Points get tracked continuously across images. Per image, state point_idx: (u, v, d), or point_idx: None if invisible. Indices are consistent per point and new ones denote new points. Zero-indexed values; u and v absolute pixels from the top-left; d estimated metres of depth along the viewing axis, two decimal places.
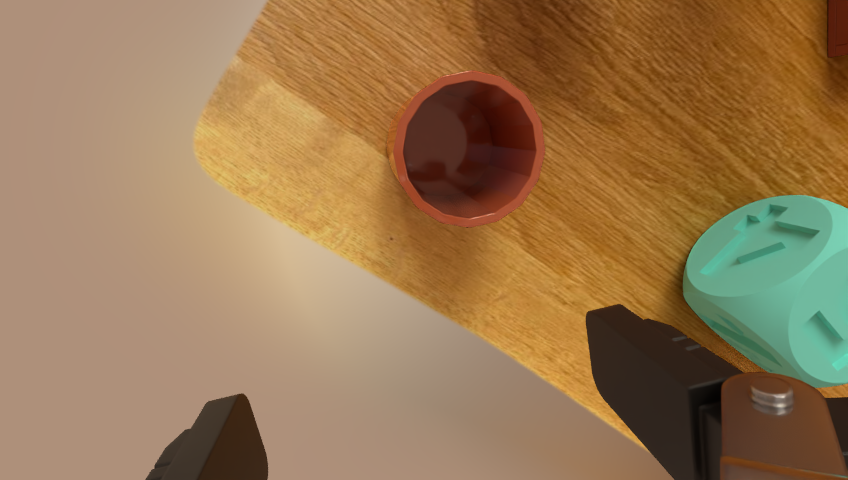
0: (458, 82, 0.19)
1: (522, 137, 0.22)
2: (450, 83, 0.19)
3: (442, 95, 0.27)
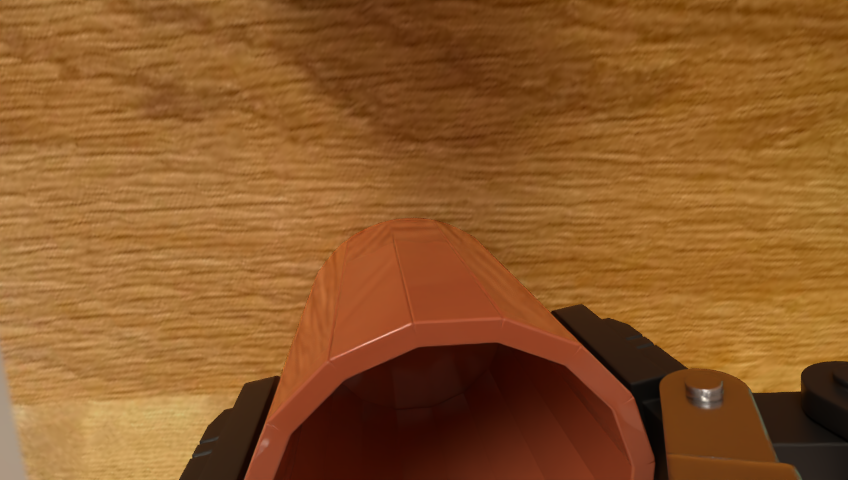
0: (317, 403, 0.07)
1: None
2: (299, 421, 0.07)
3: None
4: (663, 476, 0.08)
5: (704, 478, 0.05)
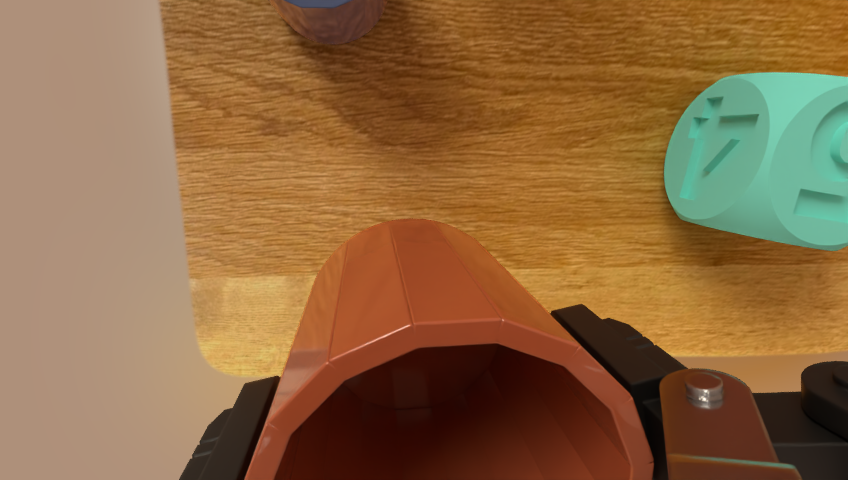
0: (317, 403, 0.07)
1: None
2: (299, 422, 0.07)
3: None
4: (663, 476, 0.08)
5: (704, 478, 0.05)
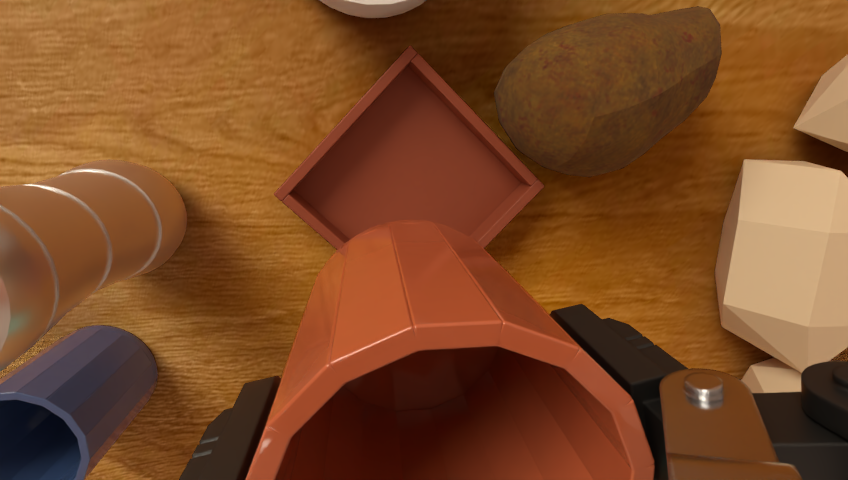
0: (318, 406, 0.07)
1: None
2: (299, 425, 0.07)
3: None
4: (663, 476, 0.08)
5: (704, 478, 0.05)
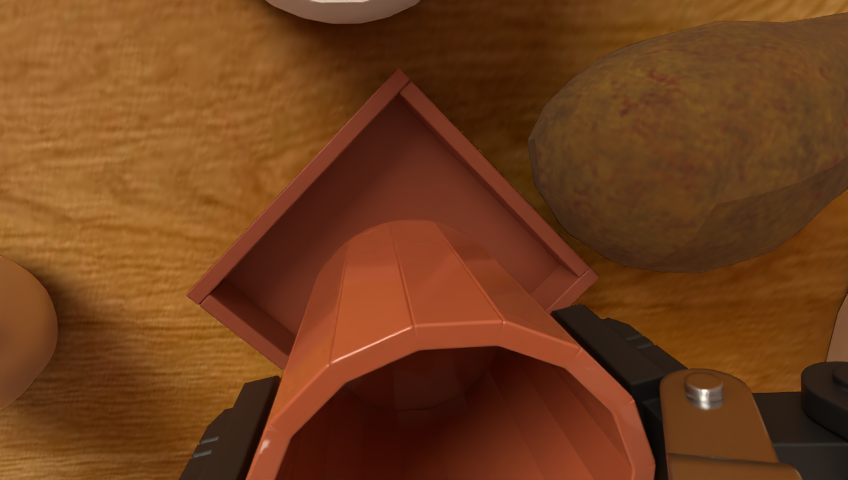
0: (318, 406, 0.07)
1: None
2: (300, 424, 0.07)
3: None
4: (663, 476, 0.08)
5: (704, 478, 0.05)
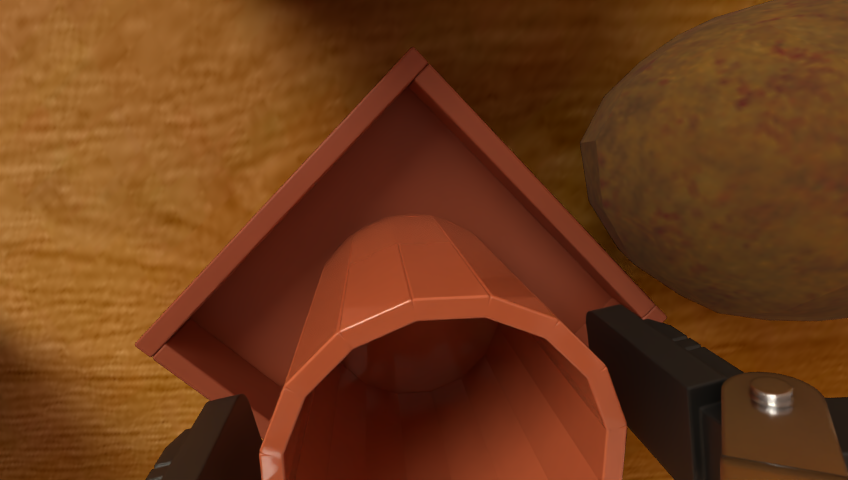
0: (328, 370, 0.08)
1: None
2: (313, 386, 0.08)
3: None
4: None
5: None
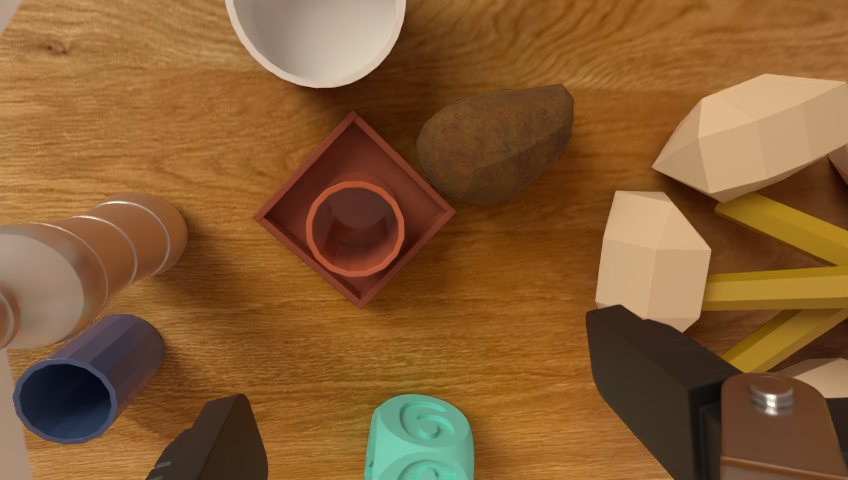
0: (323, 200, 0.31)
1: None
2: (319, 204, 0.31)
3: None
4: None
5: None
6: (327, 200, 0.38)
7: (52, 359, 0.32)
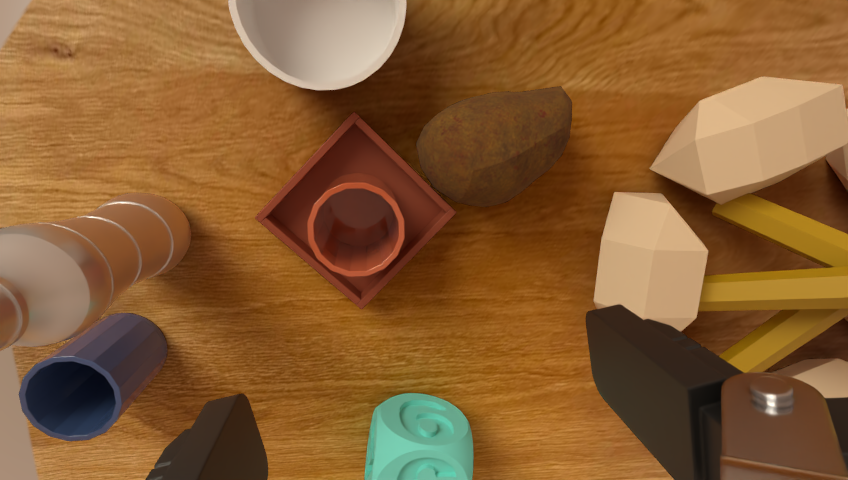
0: (324, 201, 0.31)
1: None
2: (320, 205, 0.31)
3: None
4: None
5: None
6: (328, 201, 0.39)
7: (57, 357, 0.32)
